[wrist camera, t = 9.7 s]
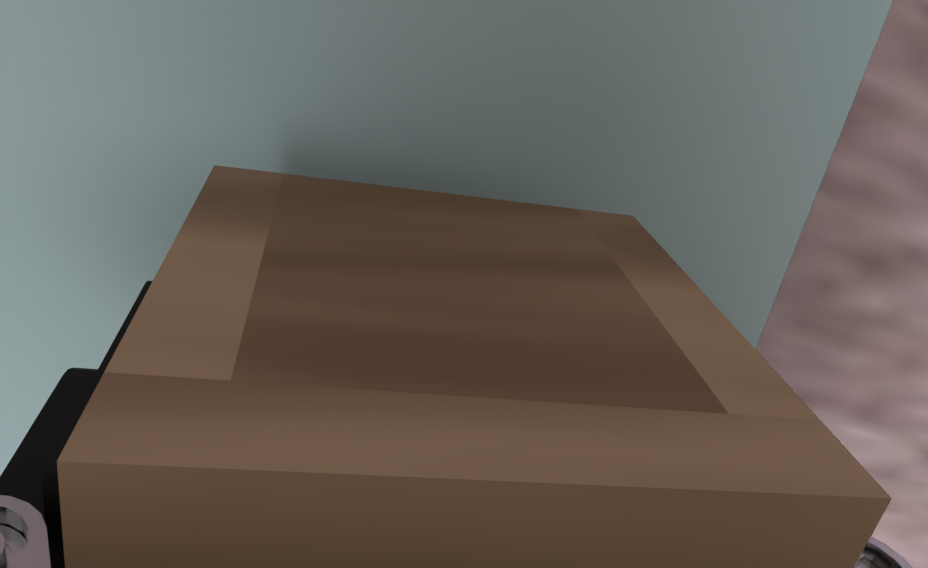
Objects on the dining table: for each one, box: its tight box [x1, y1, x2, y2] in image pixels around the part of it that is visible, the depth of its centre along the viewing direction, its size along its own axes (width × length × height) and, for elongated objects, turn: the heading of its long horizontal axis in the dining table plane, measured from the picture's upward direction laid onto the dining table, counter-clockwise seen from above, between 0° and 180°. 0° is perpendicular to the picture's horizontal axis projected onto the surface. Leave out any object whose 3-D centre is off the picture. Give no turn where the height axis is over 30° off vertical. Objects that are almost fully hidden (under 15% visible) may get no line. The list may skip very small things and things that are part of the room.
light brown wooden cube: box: [57, 165, 891, 568], centre depth 9 cm, size 6×6×7 cm
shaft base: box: [0, 0, 893, 476], centre depth 12 cm, size 14×14×6 cm
